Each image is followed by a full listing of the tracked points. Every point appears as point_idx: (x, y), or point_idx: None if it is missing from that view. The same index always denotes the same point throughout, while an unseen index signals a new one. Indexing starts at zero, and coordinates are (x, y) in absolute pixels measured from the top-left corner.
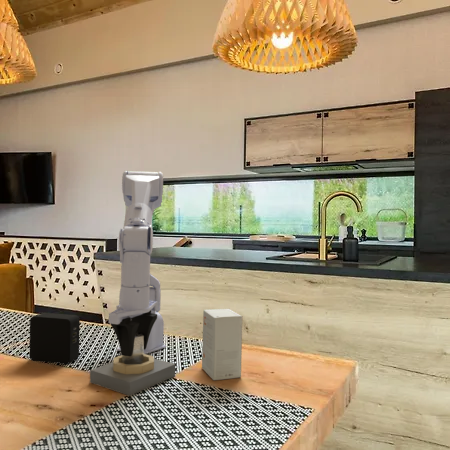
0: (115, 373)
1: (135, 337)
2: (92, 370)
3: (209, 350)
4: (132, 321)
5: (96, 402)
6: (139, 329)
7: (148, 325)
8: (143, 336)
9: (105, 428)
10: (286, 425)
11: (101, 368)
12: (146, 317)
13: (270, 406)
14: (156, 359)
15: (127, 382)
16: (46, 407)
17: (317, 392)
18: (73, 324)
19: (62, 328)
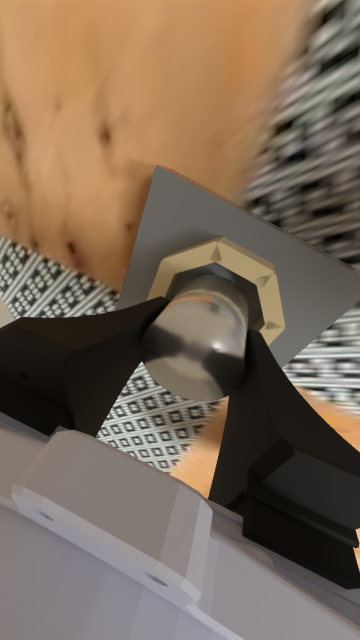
0: (152, 267)
1: (159, 375)
2: (153, 178)
3: None
4: (265, 406)
5: (82, 249)
6: (244, 400)
7: (220, 456)
8: (194, 397)
9: (30, 296)
10: (123, 449)
11: (180, 203)
12: (216, 502)
13: (158, 453)
14: (293, 354)
15: (116, 310)
16: (14, 143)
17: (208, 496)
18: None
19: None
